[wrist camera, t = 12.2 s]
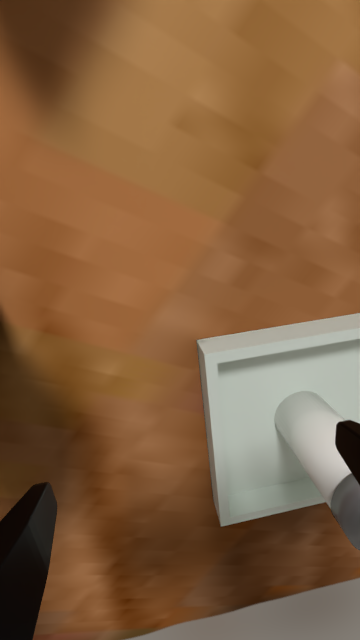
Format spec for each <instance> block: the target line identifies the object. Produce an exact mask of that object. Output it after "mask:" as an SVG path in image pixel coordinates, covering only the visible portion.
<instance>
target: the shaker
mask: <svg viewBox="0 0 360 640" xmlns="http://www.w3.org/2000/svg"><path fill="white" fill-rule="evenodd" d="M340 421H345V419H344V418H343V417H342V416H341V415H340V414H338V413H337V412H336V411H335V410H334V409H333V408H332V407H331V406H330V405H329V404H328V403H327V402H326V401H325V400H324V399H323V398H322V397H321V396H319V395H318V394H317V393H314V392H311V391H300V392H296V393H293V394H291V395H290V396H288V397H287V398H285V399H284V400H283V401H282V402H281V403H280V404H279V406H278V408H277V409H276V412H275V416H274V422H275V426H276V428H277V429H278V431H279V432H280V434H281V435H282V437H283V438H284V440H285V441H286V443H287V444H288V446H289V447H290V449H291V450H292V452H293V453H294V455H295V456H296V458H297V459H298V461H299V462H300V464H301V465H302V467H303V468H304V470H305V471H306V473H307V474H308V476H309V477H310V479H311V480H312V482H313V483H314V485H315V486H316V488H317V489H318V491H319V492H320V494H321V495H322V497H323V498H324V500H325V501H326V503H327V504H328V506H329V507H330V508H331V512H332V514H333V516H334V518H335V519H336V521H337V522H338V524H339V525H340V527H341V528H342V530H343V531H344V533H345V534H346V536H347V537H348V539H349V540H350V542H351V543H352V545H353V546H354V547H355V548H357V549H358V550H360V486H359V484H358V482H357V481H356V479H355V478H354V476H353V474H352V473H351V471H350V470H349V468H348V466H347V465H346V463H345V462H344V460H343V458H342V457H341V455H340V454H339V452H338V450H337V448H336V445H335V435H336V424H337V423H338V422H340Z"/></svg>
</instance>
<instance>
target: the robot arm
mask: <svg viewBox="0 0 360 640" xmlns="http://www.w3.org/2000/svg"><path fill="white" fill-rule="evenodd" d="M335 445H336V448H337V450H338V452H339V454H340V455H341V457H342V458H343V460H344V462H345V463H346V465H347V466H348V468H349V470H350V471H351V473H352V474H353V476H354V478H355V479H356V481H357V482H358V484H359V486H360V424H359V423H357V422H354V421H352V420H345V421H340V422H338V423H337V424H336V435H335ZM56 515H57V502H56V499H55V496H54V493H53V490H52V487H51V485H50V483H49V482H44V483H39V484H35V485H33V486H32V487H31V488H30V489H29V490H28V491H27V492H26V494H25V495H24V496H23V497H22V498H21V499H20V500H19V501H18V502H17V504H16V505H15V506H14V507H13V508H12V509H11V510H10V511H9V512H8V513H7V515H6V516H5V517H4V518H3V519H2V520H1V521H0V640H32V639H33V635H34V631H35V626H36V622H37V618H38V614H39V610H40V605H41V601H42V597H43V593H44V589H45V584H46V580H47V575H48V570H49V564H50V557H51V550H52V543H53V536H54V529H55V522H56Z"/></svg>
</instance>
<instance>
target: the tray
mask: <svg viewBox="0 0 360 640" xmlns="http://www.w3.org/2000/svg"><path fill="white" fill-rule="evenodd" d="M197 349H198V359H199V368H200V378H201V387H202V397H203V407H204V416H205V426H206V435H207V445H208V454H209V464H210V474H211V483H212V493H213V500H214V504H215V507H216V511H217V515H218V518H219V522H220V525H221V527H222V526H226V525H230V524H235V523H239V522H243V521H247V520H252V519H256V518H260V517H264V516H269V515H273V514H277V513H281V512H286V511H290V510H294V509H298V508H303V507H307V506H311V505H315V504H320V503H324V502H326V501H325V500H324V498H323V497H322V495H321V494H320V492H319V491H318V489H317V488H316V486H315V485H314V483H313V482H312V480H311V479H310V477H309V476H308V474H307V473H306V471H305V470H304V468H303V467H302V465H301V464H300V462H299V461H298V459H297V458H296V456H295V455H294V453H293V452H292V450H291V449H290V447H289V446H288V444H287V443H286V441H285V440H284V438H283V437H282V435H281V434H280V432H279V431H278V429H277V428H276V426H275V422H274V416H275V412H276V409H277V408H278V406H279V404H280V403H281V402H282V401H283V400H284V399H285V398H287V397H288V396H290V395H291V394H293V393H296V392H300V391H311V392H314V393H317V394H318V395H319V396H321V397H322V398H323V399H324V400H325V401H326V402H327V403H328V404H329V405H330V406H331V407H332V408H333V409H334V410H335V411H336V412H337V413H338V414H340V415H341V416H342V417H343V418H344V419H345V420H352V421H354V422H357V423H359V424H360V313H357V314H351V315H345V316H339V317H333V318H327V319H321V320H315V321H309V322H303V323H297V324H291V325H285V326H279V327H273V328H267V329H260V330H254V331H248V332H242V333H236V334H230V335H224V336H218V337H212V338H206V339H200V340H197Z"/></svg>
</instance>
